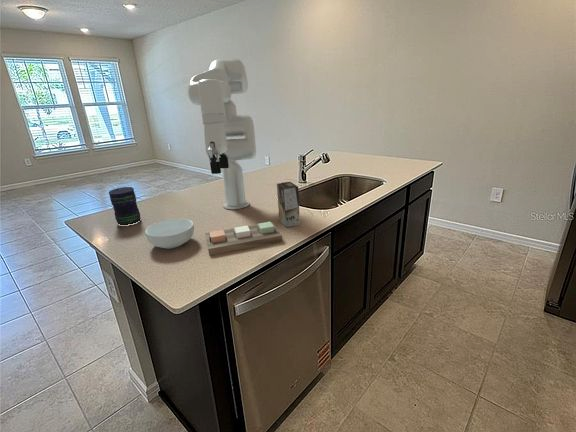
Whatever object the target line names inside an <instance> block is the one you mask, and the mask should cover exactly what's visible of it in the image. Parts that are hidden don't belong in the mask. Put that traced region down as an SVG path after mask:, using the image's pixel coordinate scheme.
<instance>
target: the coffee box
mask: <svg viewBox="0 0 576 432" xmlns="http://www.w3.org/2000/svg"><path fill="white" fill-rule="evenodd" d="M276 192H277V193H276V194H277V207H278V218H279V222H281V224H283V226H284V227H286V228H290V227H294V226H299V225H300V224H301V221H300V220H301V219H300V216H301V215H300V200H299V199H300V198H299V192H300V191H299V186H298V185H296V184H295V183H293V182H292V181H286V182H280V183H276Z"/></svg>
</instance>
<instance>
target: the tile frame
mask: <svg viewBox="0 0 576 432" xmlns="http://www.w3.org/2000/svg"><path fill="white" fill-rule="evenodd" d="M270 222H271V223H272V224H273V226H274V232H270V233H265V234H260V233H259V231H258V224H259V223H256V224H250V225H249V224H248V225H247V226H248V228H249V229H250V234H251V236H248V237H243V238H237V239H236V236H235V231H234V228H235V227H231V228H227V229H223V230H224V233H225V238H226V241H221V242H215V243H211V238H210V232H211V231H208V232H204V234H205V240H206V244H207V245H206V246H207V251H208V255H209V256H213V255H218V254H223V253H224V254H225V253H229V252H235V251H239V250H245V249H251V248H255V247H260V246H266V245H271V244H275V243H281V242H283V235H282V233H281V232H280V231H279V229H278V228H277V226H276V225H275V224H274V223H273V222H272V221H270Z"/></svg>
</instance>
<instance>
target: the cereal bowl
mask: <svg viewBox="0 0 576 432" xmlns="http://www.w3.org/2000/svg"><path fill="white" fill-rule="evenodd" d="M144 232H145V237H146V240H147V241H148V243H149V244H151V245H152V246H154V247H157V248H163V249H166V250H167V249H168V250H169V249H175V248H179V247H181V246H183V244H185V243H187V242H188V241H189V240H191V238H192V237H193V236H194V233H195V226H194V222H193V221H192V220H190V219H188V218H171V219H166V220H162V221H159V222H155V223H152V224H151V225H149V226H147V228H146V229H145V231H144Z"/></svg>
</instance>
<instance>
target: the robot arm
mask: <svg viewBox="0 0 576 432" xmlns="http://www.w3.org/2000/svg"><path fill="white" fill-rule="evenodd" d="M248 88H249V81H248V77H247V71H246V67H245V64H244V62H242V60H241V59H239V58H228V59H226V58H223V59H222V58H221V59H216V60H215V59H214V61H212V62H211V63H210V65H209V67H208V70H205V71H204V72H201V73H198V74H195V75H194V76H193V77H192V78H191V79H190V81H189V83H188V89H187V95H188V99H189V100H190V102H191V103H192V104H194V105H196V106H200V113H201V118H202V125H203V126H204V128H203V131H204V134H203V135H204V145H205V154H206V156H208V158H209V163H210V172H211V174H212V175H217V174H219V175H220V174H222V182H223V189H224V196H225V202H223V204H222V205H223V208H224V209H226V210H240V209H245V208H246V207H248V206H249V205H250V201H249V200H248V199H246V191H245V190H246V189H245V182H244V181H245V180H244V172H243V168H242V166H241V165H240V164H239V163H238V161H243V160H252V159H254V158H256V155H257V145H256V134H255V126H254V124H255V123H254V120H253V118H252V117H251V116H250V115H247V114H241V115H238V114H237V106H236V104H235V102H234V101H233V99H231V98H232V95H240V94H245V93H247V91H248ZM240 137H241V138H240ZM242 137H243V138H242ZM227 138H228V139H227ZM229 138H230V139H229Z"/></svg>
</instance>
